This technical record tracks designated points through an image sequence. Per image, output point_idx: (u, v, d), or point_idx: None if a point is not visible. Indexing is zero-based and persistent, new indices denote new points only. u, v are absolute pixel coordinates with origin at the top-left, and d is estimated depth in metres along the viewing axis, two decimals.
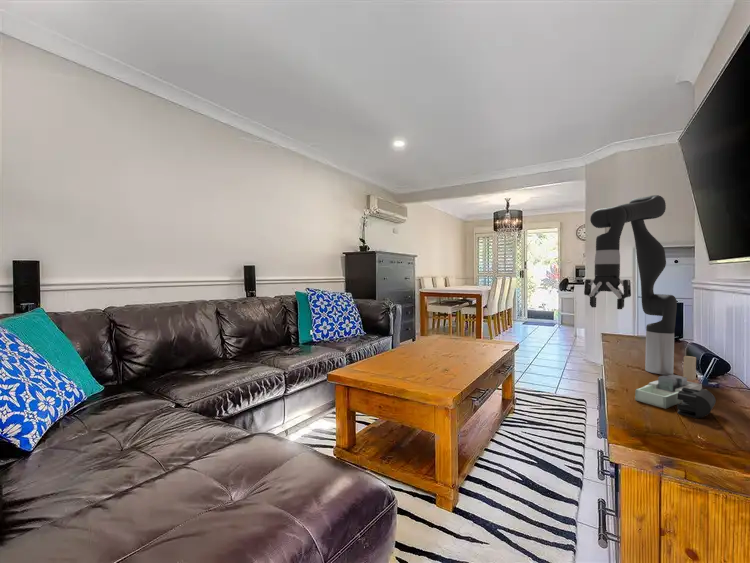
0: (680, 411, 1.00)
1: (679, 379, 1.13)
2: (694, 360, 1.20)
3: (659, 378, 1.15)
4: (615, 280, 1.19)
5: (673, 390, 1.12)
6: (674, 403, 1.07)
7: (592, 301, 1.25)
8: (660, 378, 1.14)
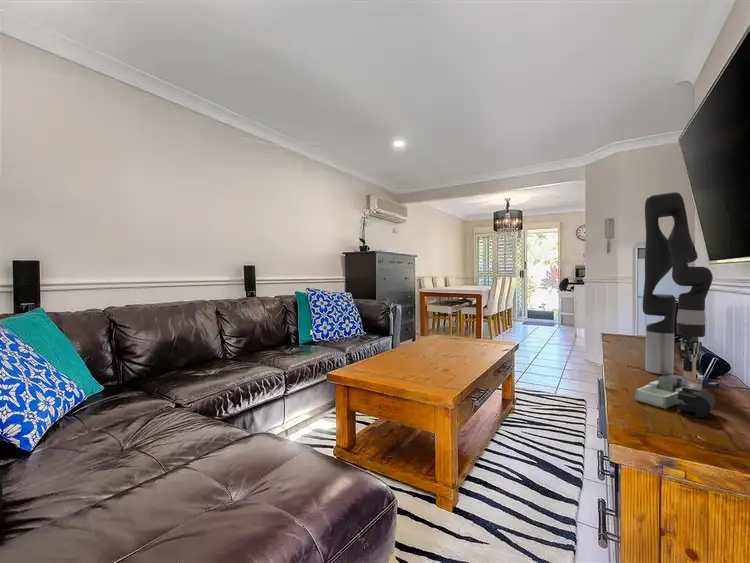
0: (680, 411, 1.00)
1: (679, 379, 1.13)
2: (694, 360, 1.20)
3: (659, 378, 1.15)
4: None
5: (673, 390, 1.12)
6: (674, 403, 1.07)
7: (691, 365, 1.20)
8: (660, 378, 1.14)
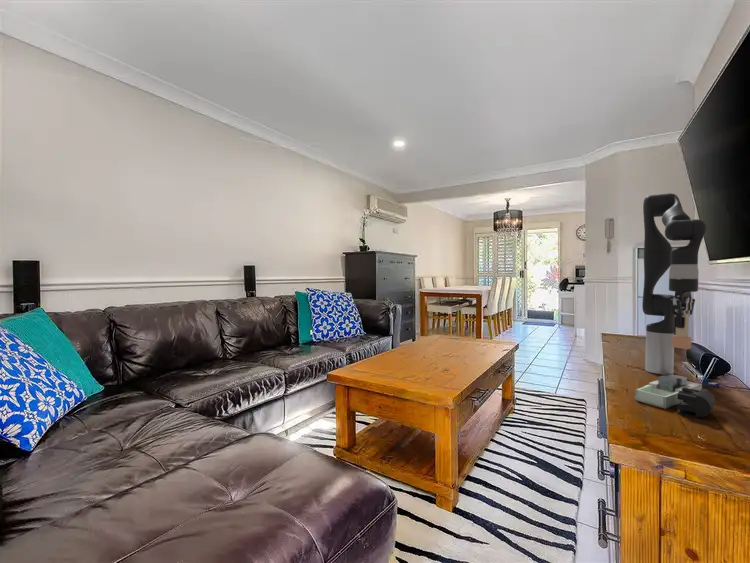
0: (680, 411, 1.00)
1: (679, 379, 1.13)
2: (687, 316, 1.17)
3: (659, 378, 1.15)
4: None
5: (673, 390, 1.12)
6: (674, 403, 1.07)
7: (684, 321, 1.16)
8: (660, 378, 1.14)
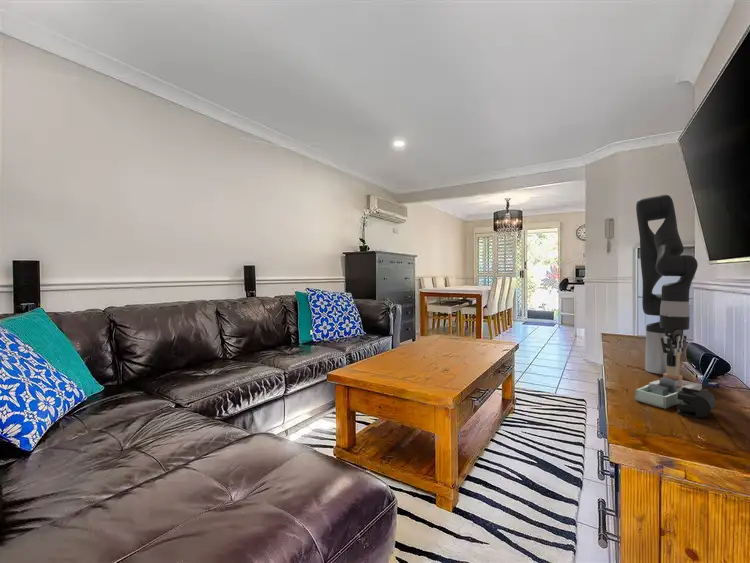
0: (680, 411, 1.00)
1: (672, 381, 1.10)
2: (678, 355, 1.13)
3: None
4: (682, 332, 1.15)
5: None
6: (674, 403, 1.07)
7: (675, 360, 1.13)
8: None
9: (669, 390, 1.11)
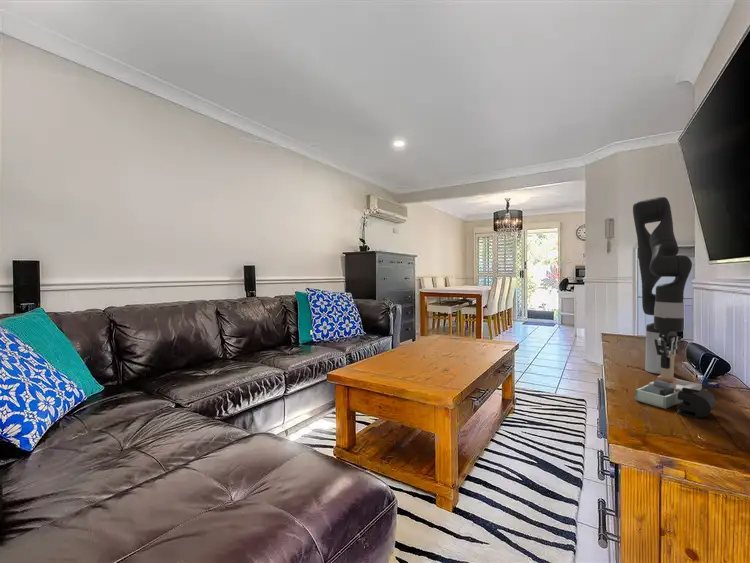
0: (680, 411, 1.00)
1: (666, 384, 1.08)
2: (672, 357, 1.11)
3: None
4: (676, 334, 1.13)
5: None
6: (674, 403, 1.07)
7: None
8: None
9: None
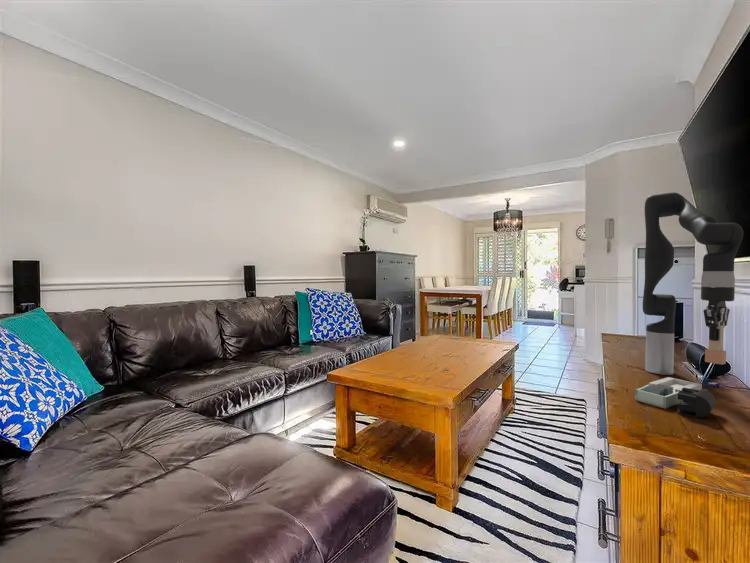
0: (680, 411, 1.00)
1: (665, 389, 1.09)
2: (722, 328, 1.07)
3: None
4: (725, 305, 1.09)
5: None
6: (674, 403, 1.07)
7: (718, 334, 1.06)
8: None
9: None
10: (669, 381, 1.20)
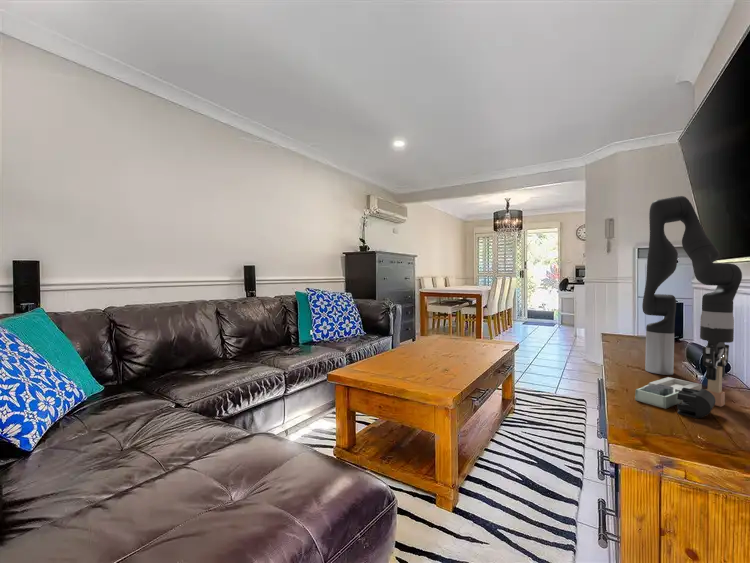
0: (680, 411, 1.00)
1: (665, 389, 1.09)
2: (720, 370, 1.07)
3: None
4: (724, 344, 1.09)
5: None
6: (674, 403, 1.07)
7: (715, 373, 1.06)
8: None
9: None
10: (669, 381, 1.20)
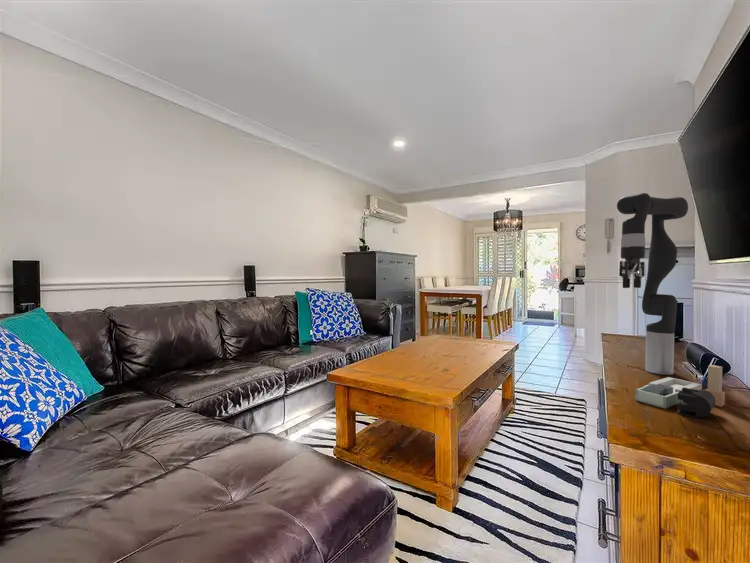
0: (680, 411, 1.00)
1: (665, 389, 1.09)
2: (720, 370, 1.07)
3: None
4: (639, 262, 1.33)
5: None
6: (674, 403, 1.07)
7: (629, 282, 1.29)
8: None
9: None
10: (669, 381, 1.20)
